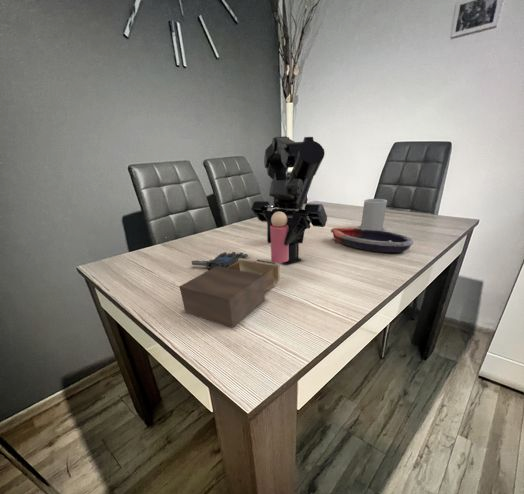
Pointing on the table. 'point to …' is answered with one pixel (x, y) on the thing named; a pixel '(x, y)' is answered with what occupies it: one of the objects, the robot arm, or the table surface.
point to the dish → (372, 239)
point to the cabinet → (223, 295)
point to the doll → (279, 238)
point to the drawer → (259, 270)
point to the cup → (373, 214)
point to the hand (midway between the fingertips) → (276, 243)
